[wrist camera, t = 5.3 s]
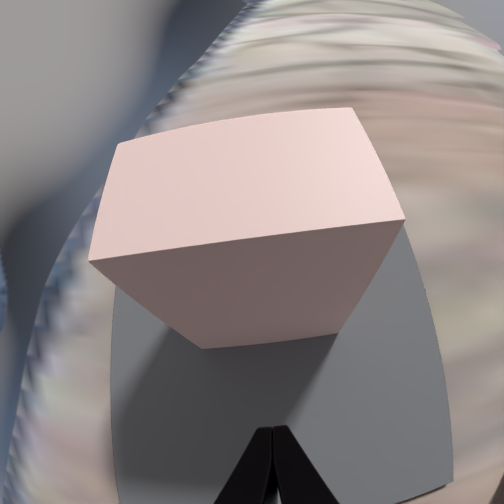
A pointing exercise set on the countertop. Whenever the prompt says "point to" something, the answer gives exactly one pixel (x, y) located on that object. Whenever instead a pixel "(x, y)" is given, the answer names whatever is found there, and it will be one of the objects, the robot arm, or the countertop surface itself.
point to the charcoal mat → (286, 399)
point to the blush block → (248, 225)
